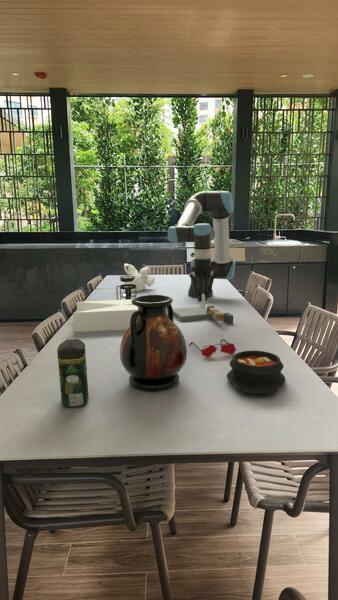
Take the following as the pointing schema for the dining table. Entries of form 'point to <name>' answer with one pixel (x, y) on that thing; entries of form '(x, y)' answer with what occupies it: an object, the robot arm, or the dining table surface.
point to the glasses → (211, 349)
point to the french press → (127, 289)
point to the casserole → (256, 372)
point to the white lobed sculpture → (139, 278)
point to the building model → (103, 315)
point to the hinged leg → (215, 313)
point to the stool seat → (191, 314)
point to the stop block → (228, 318)
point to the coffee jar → (73, 373)
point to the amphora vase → (153, 345)
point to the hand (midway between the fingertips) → (202, 307)
